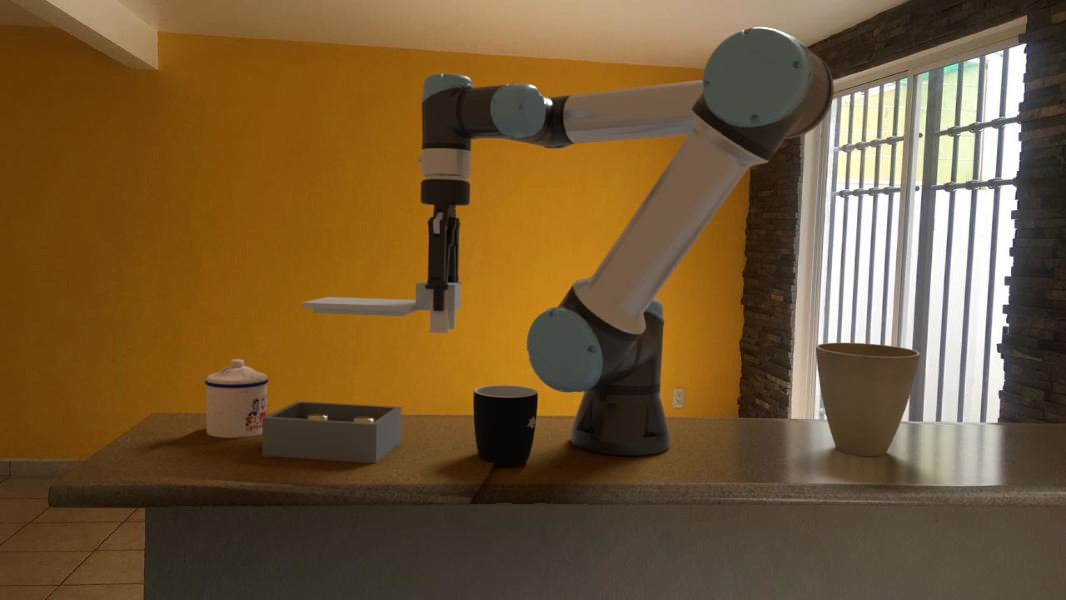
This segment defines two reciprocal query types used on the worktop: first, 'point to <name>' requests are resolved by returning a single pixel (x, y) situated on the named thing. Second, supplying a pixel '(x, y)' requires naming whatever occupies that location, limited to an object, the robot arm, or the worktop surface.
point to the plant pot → (865, 393)
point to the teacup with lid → (236, 401)
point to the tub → (331, 432)
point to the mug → (505, 423)
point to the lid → (383, 303)
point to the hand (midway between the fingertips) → (442, 330)
